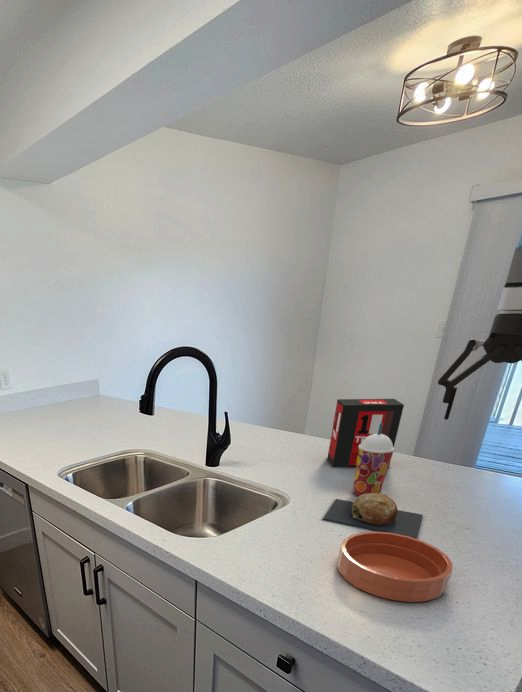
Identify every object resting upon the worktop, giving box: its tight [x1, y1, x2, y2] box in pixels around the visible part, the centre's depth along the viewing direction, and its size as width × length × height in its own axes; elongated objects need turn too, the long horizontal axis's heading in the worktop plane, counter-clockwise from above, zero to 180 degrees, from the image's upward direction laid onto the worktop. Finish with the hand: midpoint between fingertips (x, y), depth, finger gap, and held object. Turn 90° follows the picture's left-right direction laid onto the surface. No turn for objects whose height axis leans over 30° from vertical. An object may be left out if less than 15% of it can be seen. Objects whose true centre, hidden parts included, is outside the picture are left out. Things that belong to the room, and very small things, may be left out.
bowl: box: [336, 531, 454, 603], centre depth 86 cm, size 19×19×5 cm
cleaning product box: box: [327, 398, 405, 469], centre depth 140 cm, size 16×9×20 cm, turn 77°
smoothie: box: [352, 423, 395, 497], centre depth 117 cm, size 8×8×20 cm
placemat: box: [322, 498, 423, 539], centre depth 109 cm, size 20×14×1 cm
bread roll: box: [351, 492, 399, 525], centre depth 108 cm, size 10×10×8 cm
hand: (484, 421), depth 94 cm, fingers open, 13 cm apart
